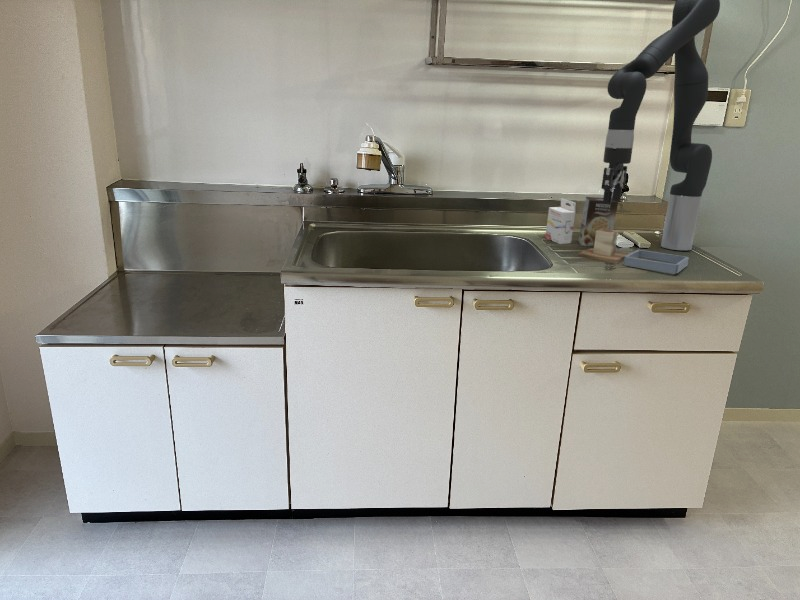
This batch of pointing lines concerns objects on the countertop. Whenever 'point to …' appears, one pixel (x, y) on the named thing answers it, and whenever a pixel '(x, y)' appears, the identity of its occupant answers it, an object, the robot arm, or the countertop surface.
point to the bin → (655, 265)
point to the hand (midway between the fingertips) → (611, 202)
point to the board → (603, 256)
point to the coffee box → (596, 219)
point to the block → (605, 242)
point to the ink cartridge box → (561, 222)
